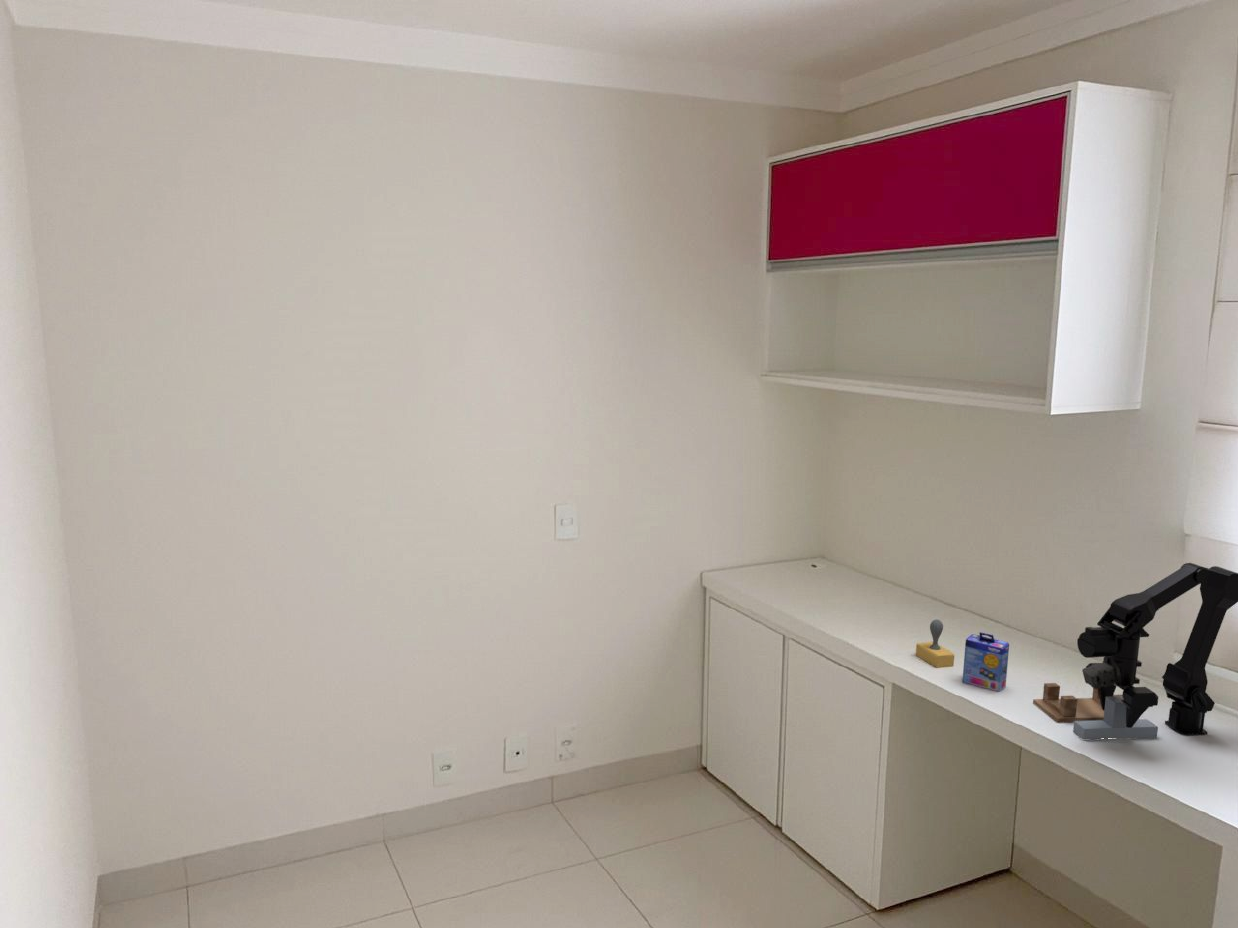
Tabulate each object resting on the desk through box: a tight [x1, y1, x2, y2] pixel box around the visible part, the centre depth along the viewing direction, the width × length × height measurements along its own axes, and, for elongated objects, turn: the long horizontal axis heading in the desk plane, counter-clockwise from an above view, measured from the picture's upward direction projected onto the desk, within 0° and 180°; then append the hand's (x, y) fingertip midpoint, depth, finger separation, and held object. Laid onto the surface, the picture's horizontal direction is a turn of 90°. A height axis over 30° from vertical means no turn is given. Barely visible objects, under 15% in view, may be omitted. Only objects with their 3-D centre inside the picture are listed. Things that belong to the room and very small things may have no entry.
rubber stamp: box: [915, 619, 955, 669], centre depth 258 cm, size 10×6×12 cm, turn 17°
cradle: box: [1032, 682, 1122, 723], centre depth 227 cm, size 20×11×6 cm, turn 95°
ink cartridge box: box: [961, 631, 1010, 693], centre depth 242 cm, size 10×6×14 cm, turn 51°
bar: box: [1072, 696, 1159, 740], centre depth 214 cm, size 18×4×9 cm, turn 95°
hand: (1116, 718), depth 214 cm, fingers open, 9 cm apart
